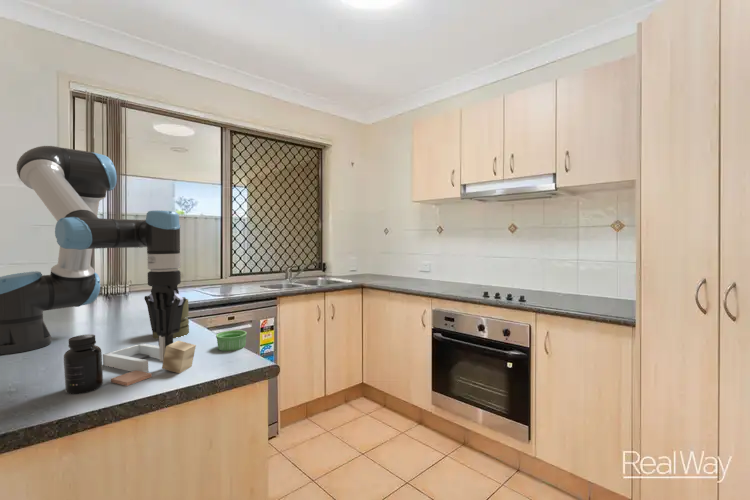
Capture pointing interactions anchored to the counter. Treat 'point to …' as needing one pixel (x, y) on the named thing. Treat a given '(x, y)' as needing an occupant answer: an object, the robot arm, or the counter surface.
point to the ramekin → (231, 340)
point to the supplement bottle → (83, 365)
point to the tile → (131, 377)
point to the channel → (131, 357)
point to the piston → (183, 325)
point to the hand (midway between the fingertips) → (166, 359)
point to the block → (178, 356)
